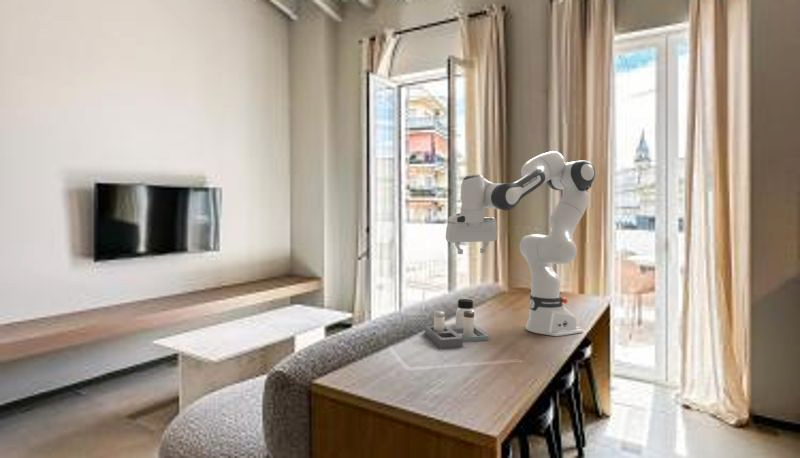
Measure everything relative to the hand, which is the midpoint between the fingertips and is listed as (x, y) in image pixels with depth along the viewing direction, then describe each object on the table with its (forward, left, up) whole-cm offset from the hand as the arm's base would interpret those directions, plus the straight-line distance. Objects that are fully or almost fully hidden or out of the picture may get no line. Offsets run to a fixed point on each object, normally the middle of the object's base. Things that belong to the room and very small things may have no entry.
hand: (471, 253), depth 186 cm
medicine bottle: (-3, -11, -32) cm, 34 cm away
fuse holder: (+13, +6, -32) cm, 35 cm away
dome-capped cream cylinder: (+13, +2, -31) cm, 34 cm away
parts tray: (+2, +3, -32) cm, 32 cm away
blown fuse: (+2, +3, -32) cm, 32 cm away
